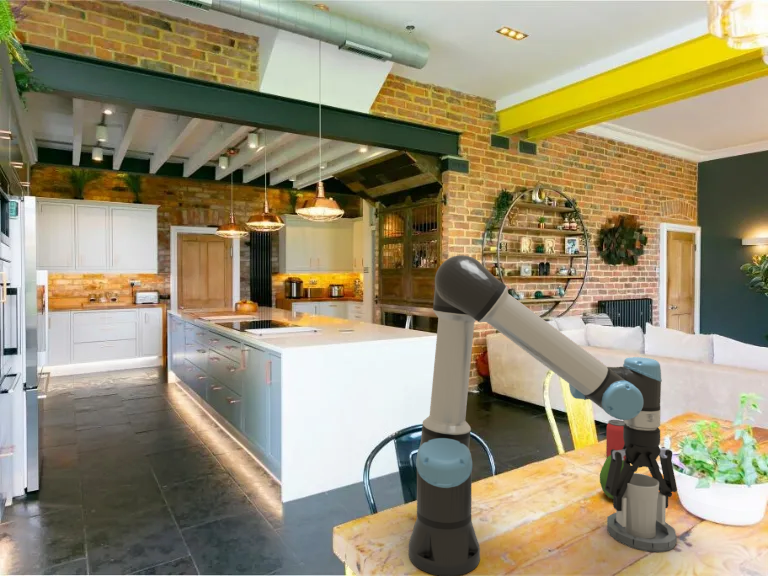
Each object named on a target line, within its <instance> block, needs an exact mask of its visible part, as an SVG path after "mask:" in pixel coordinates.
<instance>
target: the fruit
mask: <svg viewBox="0 0 768 576" xmlns="http://www.w3.org/2000/svg"><path fill="white" fill-rule="evenodd" d="M610 463H611V455H610V456H608V457H607V456H606V459H605V461H604V463H603V465H602V467H601V469H600V473H599V483H600V487H601V489H602V491H603V493H604V495H606V496H607V497H608V498H609V499H611V500H613V496H612V495H611V494H610V493H608V492H607V491H606V490H605V486H606V481H607V477H608V472H609V467H610ZM623 463H624V460H622V467H621V471H622V468H623V466H624V465H623ZM620 473H621V472H620Z"/></svg>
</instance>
